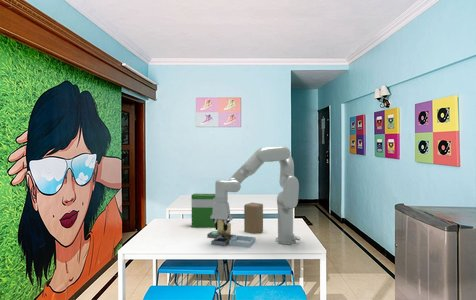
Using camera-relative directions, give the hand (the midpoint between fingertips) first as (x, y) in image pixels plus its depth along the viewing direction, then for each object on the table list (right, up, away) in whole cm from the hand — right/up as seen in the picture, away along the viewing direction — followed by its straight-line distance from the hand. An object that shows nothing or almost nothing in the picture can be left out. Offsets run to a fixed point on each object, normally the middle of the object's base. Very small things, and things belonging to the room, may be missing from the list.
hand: (221, 229), depth 189 cm
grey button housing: (-5, -9, +14) cm, 17 cm away
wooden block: (+21, -9, +26) cm, 35 cm away
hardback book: (-15, -9, +44) cm, 47 cm away
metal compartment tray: (+2, -9, +4) cm, 10 cm away
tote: (+13, -9, 0) cm, 16 cm away
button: (-5, -8, +14) cm, 17 cm away
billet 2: (+3, -8, +8) cm, 12 cm away
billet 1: (0, -3, 0) cm, 3 cm away
